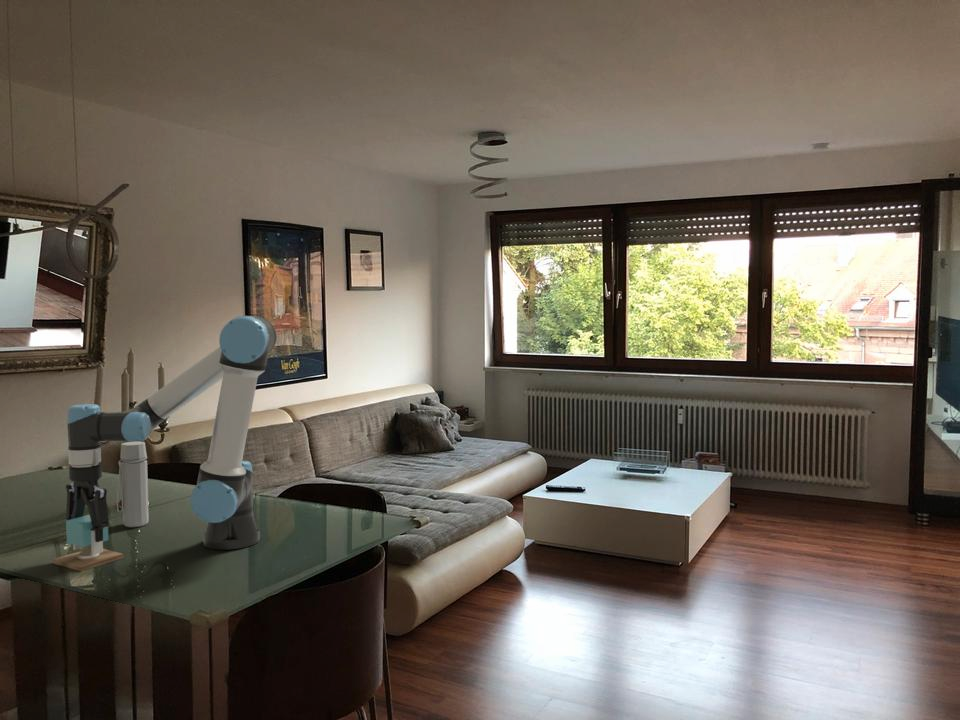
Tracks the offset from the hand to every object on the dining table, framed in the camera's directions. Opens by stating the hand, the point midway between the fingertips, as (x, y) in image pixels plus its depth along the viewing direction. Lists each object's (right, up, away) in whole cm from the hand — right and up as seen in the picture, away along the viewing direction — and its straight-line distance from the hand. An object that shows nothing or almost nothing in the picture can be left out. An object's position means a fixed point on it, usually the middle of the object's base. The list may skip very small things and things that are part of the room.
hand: (88, 550), depth 199 cm
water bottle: (-3, 0, +32) cm, 32 cm away
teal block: (0, +2, 0) cm, 2 cm away
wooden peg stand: (0, -3, 0) cm, 3 cm away
